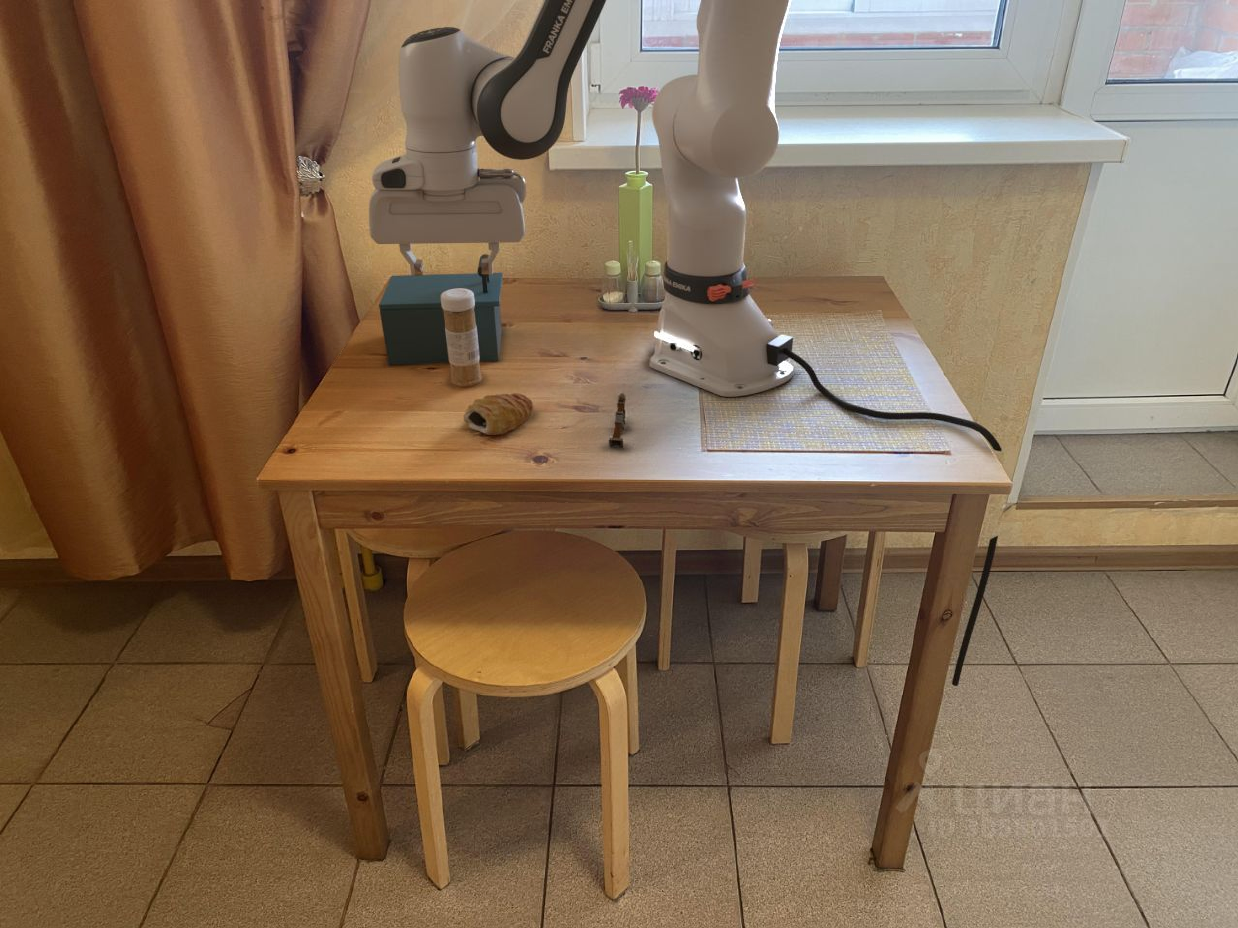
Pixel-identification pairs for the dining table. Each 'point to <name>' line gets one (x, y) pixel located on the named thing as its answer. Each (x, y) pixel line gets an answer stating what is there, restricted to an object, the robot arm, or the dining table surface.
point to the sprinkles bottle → (461, 336)
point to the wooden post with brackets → (618, 424)
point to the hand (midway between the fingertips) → (452, 273)
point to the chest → (435, 335)
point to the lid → (440, 289)
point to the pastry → (498, 413)
